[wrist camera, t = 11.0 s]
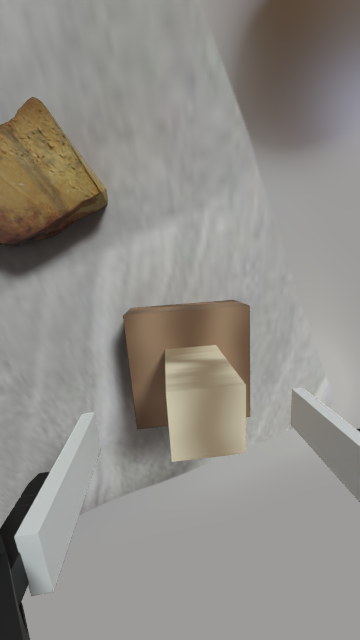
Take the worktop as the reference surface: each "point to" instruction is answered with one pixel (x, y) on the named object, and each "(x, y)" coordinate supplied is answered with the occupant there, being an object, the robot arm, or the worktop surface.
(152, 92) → the worktop surface
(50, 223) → the stone
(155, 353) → the plinth
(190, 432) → the oak block
